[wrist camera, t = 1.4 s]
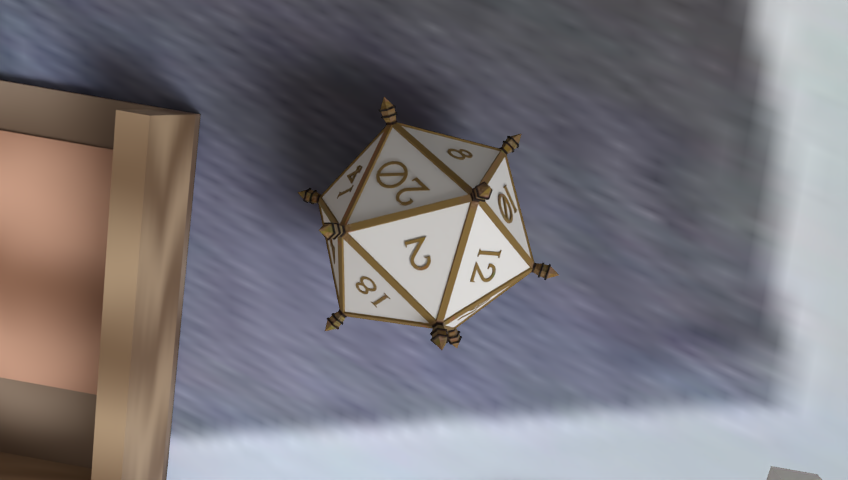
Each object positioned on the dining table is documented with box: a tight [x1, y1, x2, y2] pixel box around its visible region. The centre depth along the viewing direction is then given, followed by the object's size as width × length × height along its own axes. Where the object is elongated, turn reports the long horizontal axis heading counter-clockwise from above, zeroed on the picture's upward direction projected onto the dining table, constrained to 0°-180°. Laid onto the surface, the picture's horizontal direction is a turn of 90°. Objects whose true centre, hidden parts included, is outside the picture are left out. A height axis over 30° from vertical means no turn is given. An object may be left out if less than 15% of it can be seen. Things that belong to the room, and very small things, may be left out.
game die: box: [298, 97, 558, 350], centre depth 23 cm, size 9×8×10 cm
